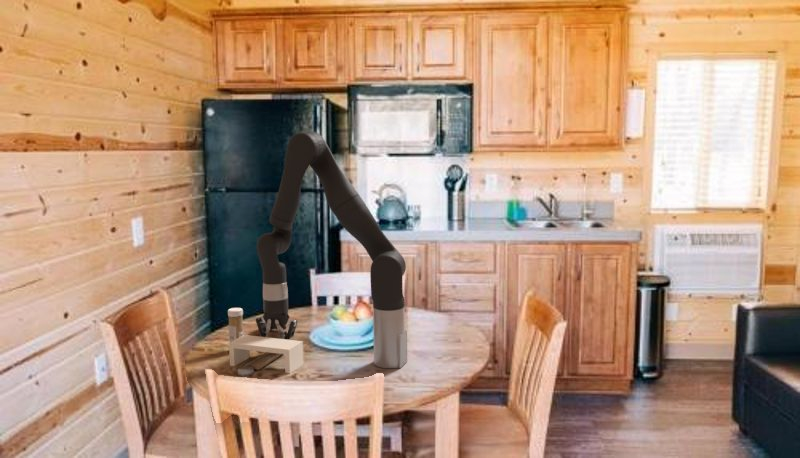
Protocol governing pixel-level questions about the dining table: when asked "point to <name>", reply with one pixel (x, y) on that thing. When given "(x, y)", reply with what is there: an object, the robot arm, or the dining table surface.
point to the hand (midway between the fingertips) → (277, 350)
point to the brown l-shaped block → (267, 356)
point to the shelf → (267, 350)
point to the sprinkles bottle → (235, 323)
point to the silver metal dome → (245, 371)
